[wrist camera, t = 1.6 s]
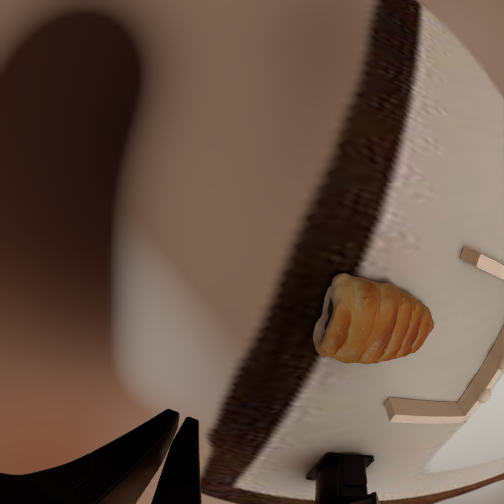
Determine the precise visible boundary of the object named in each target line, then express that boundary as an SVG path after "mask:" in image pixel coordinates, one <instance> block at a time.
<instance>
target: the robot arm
mask: <svg viewBox="0 0 504 504" xmlns="http://www.w3.org/2000/svg"><path fill="white" fill-rule="evenodd" d="M178 422H179V413H178V412H176V411H173V410H171V409H167V410H165V411H163V412H162V413H160V414H158V415H157V416H155V417H154V418H152V419H150V420H149V421H147V422H145V423H144V424H142V425H140V426H139V427H137V428H135V429H133V430H132V431H130V432H128V433H126V434H125V435H123V436H121V437H119V438H117V439H115V440H114V441H112V442H110V443H108V444H106V445H104V446H102V447H101V448H99V449H97V450H95V451H93V452H91V454H87V455H85V456H83V457H81V458H79V459H76V460H74V461H71V462H69V463H66V464H63V465H60V466H57V467H53V468H50V469H46V470H42V471H38V472H34V473H30V474H24V475H11V474H4V473H0V504H136V502H137V500H138V499H139V498H140V496H141V495H142V493H143V492H144V490H145V489H146V487H147V486H148V484H149V483H150V481H151V480H152V478H153V477H154V475H155V474H156V472H157V471H158V469H159V467H160V466H161V464H162V462H163V460H164V458H165V455H166V453H167V451H168V449H169V447H170V449H169V452H168V455H167V458H166V461H165V464H164V467H163V470H162V473H161V476H160V479H159V482H158V485H157V488H156V491H155V494H154V497H153V500H152V503H151V504H201V486H200V461H199V421H198V420H196V419H194V418H191V417H186V419H185V420H184V423H183V424H182V426H181V427H180V429H179V431H178V433H177V434H176V436H175V438H174V440H173V437H174V435H175V433H176V430H177V428H178ZM172 440H173V441H172ZM171 442H172V444H171ZM170 444H171V446H170ZM373 461H374V457H373V456H356V455H344V454H334V453H327V454H325V455H324V457H323V458H322V459H321V460H320V461H319V462H318V463H317V464H316V465H315V467H314V468H313V469H312V470H311V471H310V472H309V473H308V474H307V475H306V479H308V480H316V494H315V504H380V502H379V499H378V496H377V493H376V492H373V493H371V494H368V493H367V476H366V468H367V467H368V466H369V465H370V464H371V463H372V462H373Z"/></svg>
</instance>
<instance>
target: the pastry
mask: <svg viewBox="0 0 504 504" xmlns="http://www.w3.org/2000/svg"><path fill="white" fill-rule="evenodd" d="M433 327H434V322H433V320H432V316H431V313H430V310H429V308H428V307H427V306H425V305H423V304H422V303H420V302H419V301H418V300H417V299H416V298H415V297H414V296H413V295H411V294H409V293H406V292H404V291H402V290H400V289H398V288H397V286H395V285H394V284H392V283H377V282H373V281H371V280H368V279H366V278H361V277H354V276H351V275H349V274H347V273H342V274H338V275H337V276H335V277H334V278H333V280H332V284H331V286H330V287H329V288H328V290H327V292H326V296H325V299H324V305H323V313H322V316H321V317H320V319H319V320H318V321H317V323H316V325H315V329H314V332H313V341H314V345H315V348H316V351H317V353H319V354H321V355H322V356H323V357H332V358H334V359H336V360H339V361H341V362H344V363H363V364H371V363H379V362H381V361H388V360H391V359H396V358H399V357H404V356H407V355H408V354H410V353H414V352H416V351H417V350H418V349H419V348H420V347H421V346H422V345H423V343H424V341H425V340H426V338H427V336H428V334H429V333H430V332H431V331H432V329H433Z"/></svg>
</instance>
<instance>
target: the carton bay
mask: <svg viewBox="0 0 504 504" xmlns="http://www.w3.org/2000/svg"><path fill="white" fill-rule="evenodd" d="M460 259H462V260H464V261H466V262H468V263H470V264H472V265H474V266H475V267H478V268H480V269H482V270H484V271H486V272H489V273H491V274H493V275H495V276H497V277H499V278H501V279H504V265H502V264H500V263H498V262H496V261H494V260H492V259H490V258H488V257H486V256H484V255H482V254H480V253H478V252H475V251H473V250H471V249H469V248H466V247H463V250H462V253H461V256H460ZM502 371H504V326H503V328H502V330H501V332H500V334H499V336H498V338H497V340H496V342H495V344H494V346H493V347H492V349H491V351H490V353H489V355H488V356H487V358H486V360H485V361H484V363H483V365H482V366H481V368H480V370H479V371H478V373H477V374H476V376H475V378H474V379H473V381H472V382H471V384H470V385H469V387H468V388H467V389H466V391H465V392H464V394H463V395H462V396H461V398H460V399H459V401H458V402H439V401H424V400H412V399H402V398H393V397H389V398H388V400H387V401H386V403H385V404H384V405H385V408H386V411H387V415H388V418H389V422H400V423H465V422H466V421H467V420H468V418H469V417H470V416H471V415H472V413H473V412H474V411H475V410H476V408H477V407H478V406H479V404H480V403H485V402H487V401H488V400H489V399H490V397H491V388H492V386H493V385H494V383H495V382H496V380H497V379H498V377H499V375H500V374H501V372H502Z"/></svg>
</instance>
